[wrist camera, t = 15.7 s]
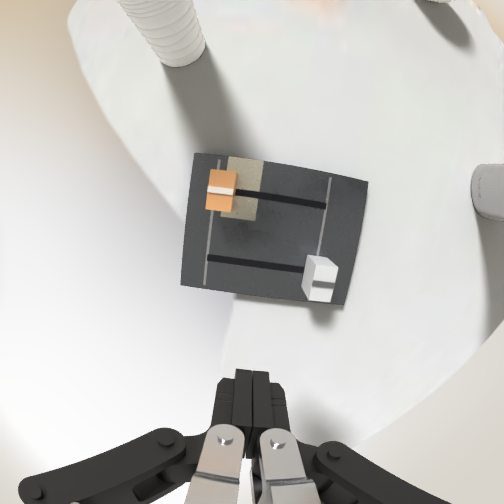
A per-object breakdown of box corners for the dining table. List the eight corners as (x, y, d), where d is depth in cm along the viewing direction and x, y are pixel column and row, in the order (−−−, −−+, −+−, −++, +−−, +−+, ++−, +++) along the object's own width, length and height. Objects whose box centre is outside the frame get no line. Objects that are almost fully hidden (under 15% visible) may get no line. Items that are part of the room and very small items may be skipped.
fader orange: (238, 174, 30) (236, 171, 25) (233, 209, 31) (230, 212, 26) (216, 172, 30) (210, 168, 25) (211, 206, 31) (205, 209, 26)
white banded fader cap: (326, 257, 32) (338, 267, 28) (320, 288, 33) (330, 303, 28) (307, 254, 32) (316, 265, 27) (301, 286, 33) (308, 300, 28)
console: (363, 182, 32) (368, 181, 30) (340, 300, 35) (343, 305, 34) (196, 154, 31) (194, 152, 29) (183, 281, 34) (180, 285, 33)
